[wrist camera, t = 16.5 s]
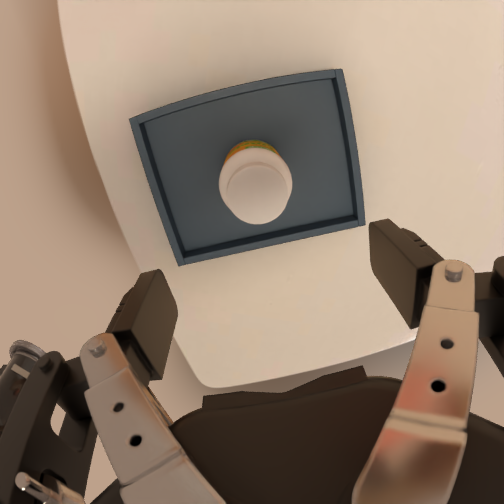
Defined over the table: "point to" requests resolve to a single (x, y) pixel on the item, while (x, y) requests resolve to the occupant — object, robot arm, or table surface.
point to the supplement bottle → (255, 182)
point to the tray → (253, 128)
